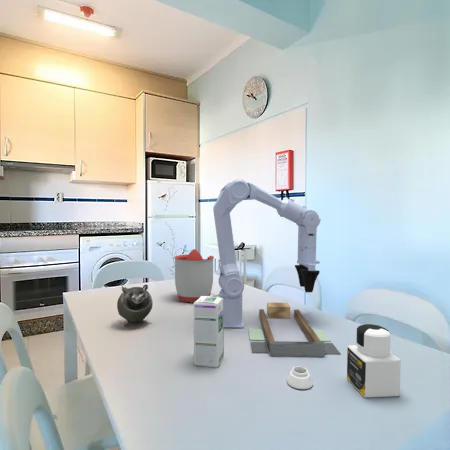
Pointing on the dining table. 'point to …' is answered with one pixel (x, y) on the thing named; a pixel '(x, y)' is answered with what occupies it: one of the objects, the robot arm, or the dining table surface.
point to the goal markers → (259, 336)
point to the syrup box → (208, 331)
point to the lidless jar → (300, 378)
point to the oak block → (278, 310)
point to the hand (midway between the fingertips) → (306, 289)
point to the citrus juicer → (193, 276)
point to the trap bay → (294, 348)
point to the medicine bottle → (373, 363)
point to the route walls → (300, 320)
